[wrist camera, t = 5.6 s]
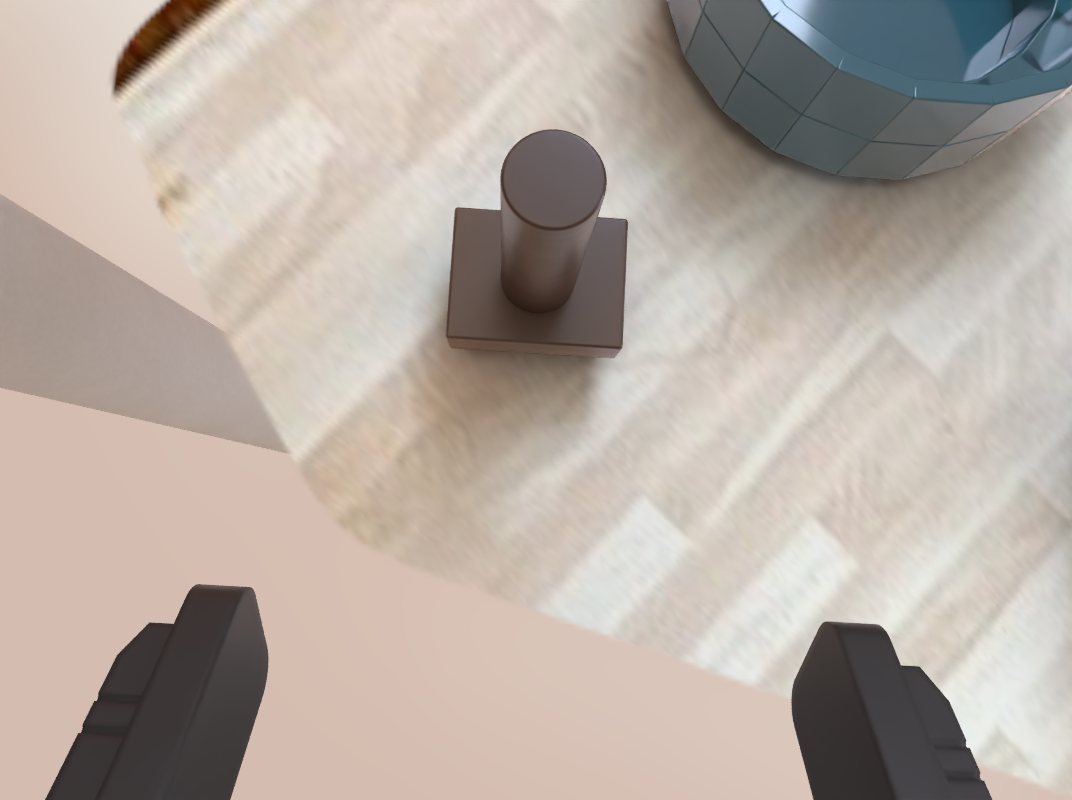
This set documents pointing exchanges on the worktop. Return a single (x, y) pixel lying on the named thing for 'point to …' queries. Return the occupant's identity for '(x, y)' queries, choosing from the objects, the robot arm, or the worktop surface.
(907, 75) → the bowl
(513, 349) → the brown stamp
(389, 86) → the worktop surface
